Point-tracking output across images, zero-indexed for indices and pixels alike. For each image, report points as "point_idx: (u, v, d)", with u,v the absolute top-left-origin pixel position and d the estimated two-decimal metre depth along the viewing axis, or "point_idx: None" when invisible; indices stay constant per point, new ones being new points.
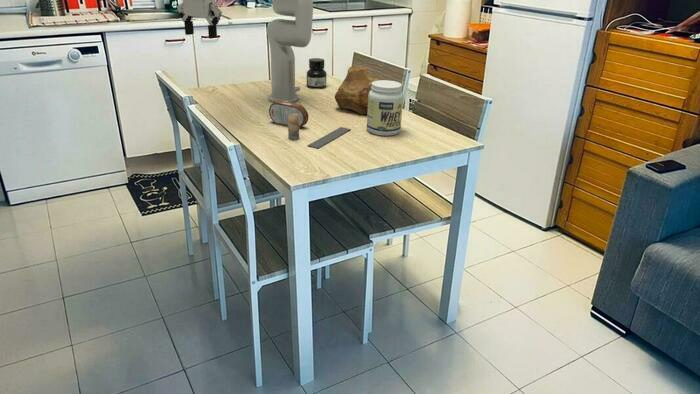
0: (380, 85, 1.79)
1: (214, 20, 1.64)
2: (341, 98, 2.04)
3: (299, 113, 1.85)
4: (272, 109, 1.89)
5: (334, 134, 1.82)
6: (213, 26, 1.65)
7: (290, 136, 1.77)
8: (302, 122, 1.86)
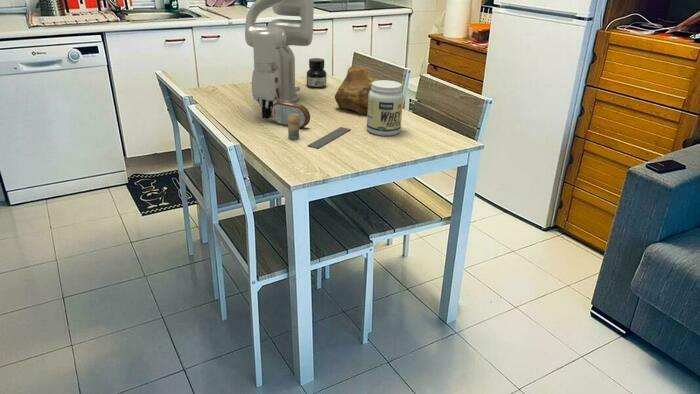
0: (380, 85, 1.79)
1: (270, 104, 1.89)
2: (341, 98, 2.04)
3: (301, 113, 1.84)
4: (274, 109, 1.89)
5: (334, 134, 1.82)
6: (268, 109, 1.91)
7: (290, 136, 1.77)
8: (304, 123, 1.85)
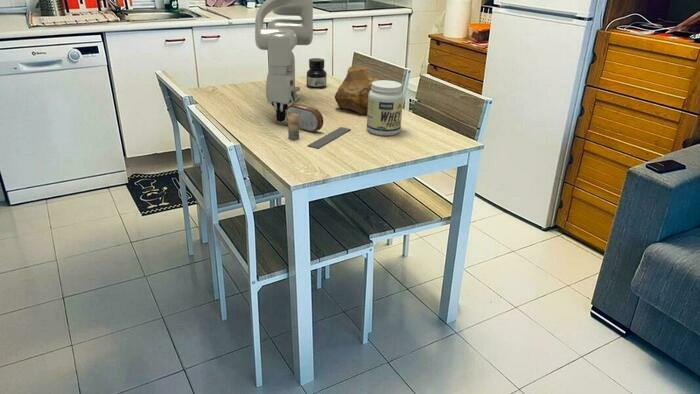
0: (380, 85, 1.79)
1: (284, 107, 1.87)
2: (341, 98, 2.04)
3: (314, 117, 1.81)
4: (288, 112, 1.86)
5: (334, 134, 1.82)
6: (283, 112, 1.88)
7: (290, 136, 1.77)
8: (316, 127, 1.82)
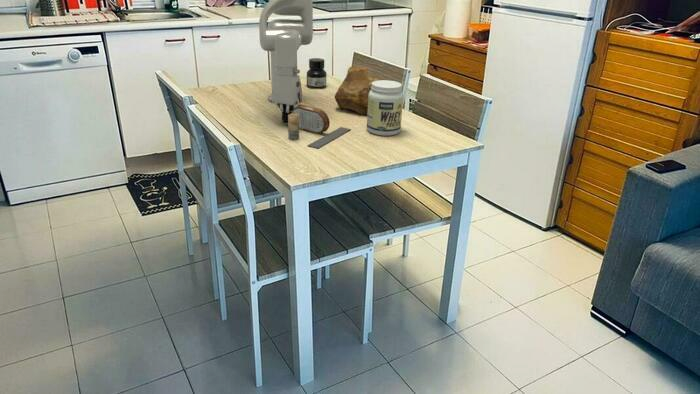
0: (380, 85, 1.79)
1: (290, 108, 1.86)
2: (341, 98, 2.04)
3: (320, 119, 1.80)
4: (294, 113, 1.85)
5: (334, 134, 1.82)
6: (289, 113, 1.87)
7: (290, 136, 1.77)
8: (323, 128, 1.81)
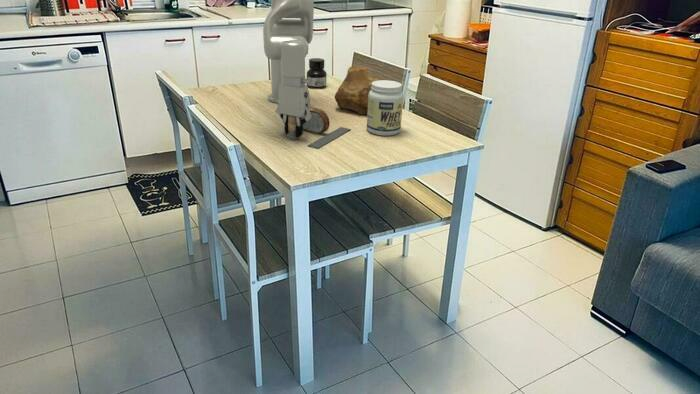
0: (380, 85, 1.79)
1: (302, 122, 1.73)
2: (341, 98, 2.04)
3: (320, 119, 1.80)
4: None
5: (334, 134, 1.82)
6: (300, 126, 1.75)
7: (290, 136, 1.77)
8: (323, 129, 1.81)
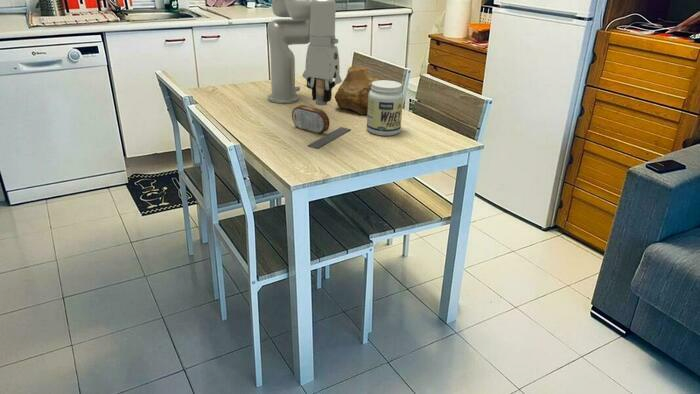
0: (380, 85, 1.79)
1: (331, 85, 1.64)
2: (341, 98, 2.04)
3: (320, 119, 1.80)
4: (294, 113, 1.85)
5: (334, 134, 1.82)
6: (329, 90, 1.65)
7: (318, 101, 1.67)
8: (323, 129, 1.81)
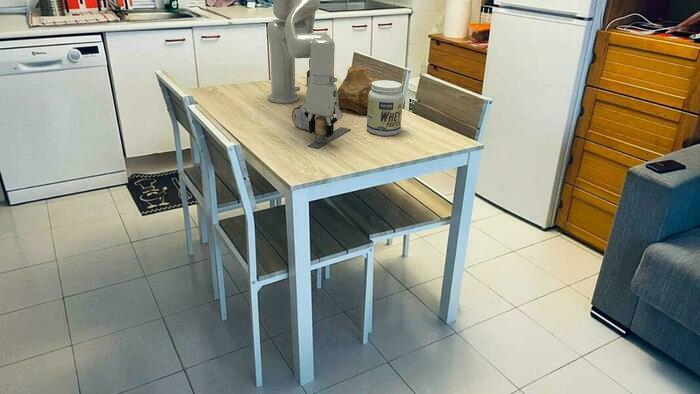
0: (380, 85, 1.79)
1: (333, 121, 1.69)
2: (341, 98, 2.04)
3: None
4: (294, 113, 1.85)
5: (334, 134, 1.82)
6: (331, 126, 1.70)
7: (317, 140, 1.73)
8: None
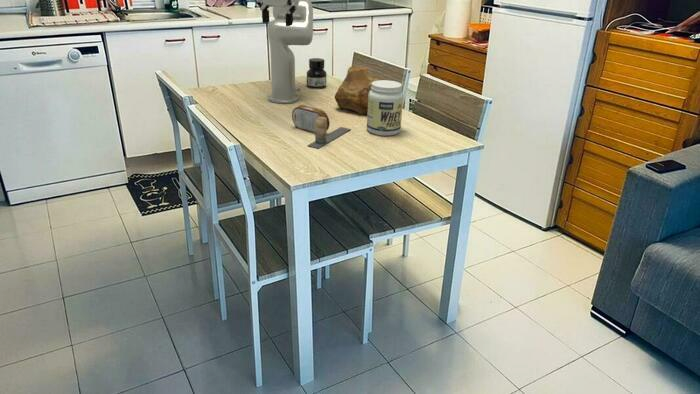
0: (380, 85, 1.79)
1: (292, 9, 1.78)
2: (341, 98, 2.04)
3: None
4: (294, 113, 1.85)
5: (334, 134, 1.82)
6: (290, 14, 1.79)
7: (317, 140, 1.73)
8: None
